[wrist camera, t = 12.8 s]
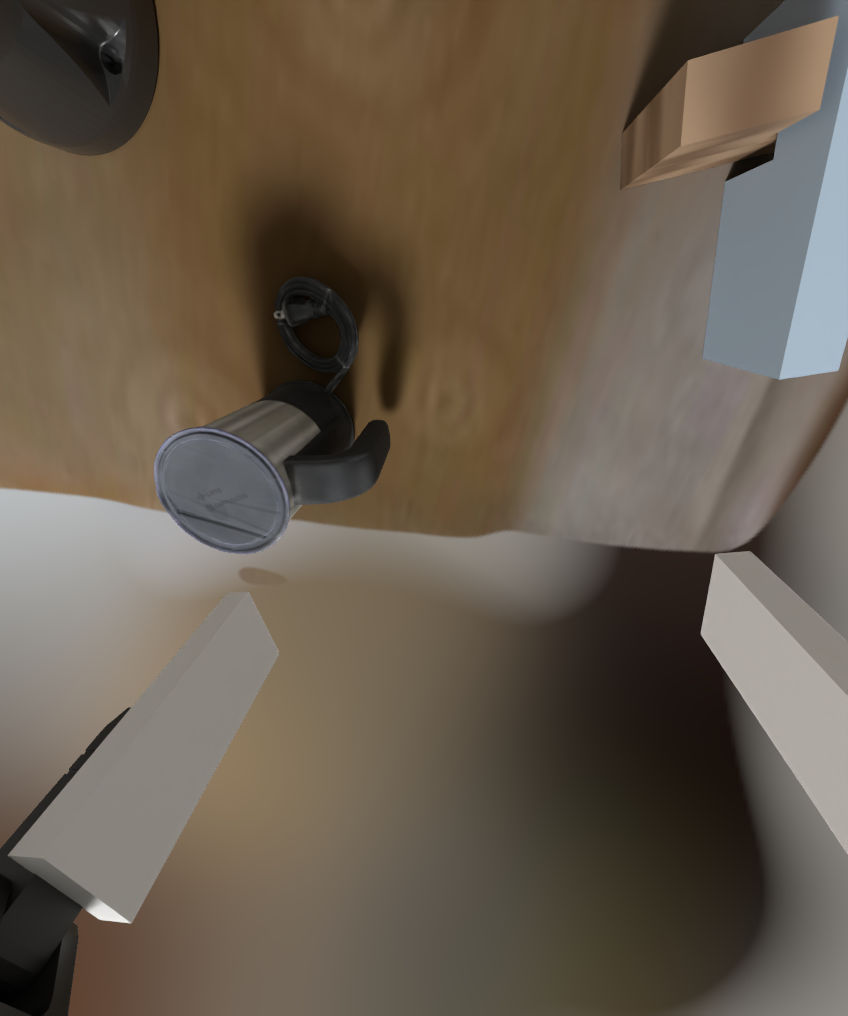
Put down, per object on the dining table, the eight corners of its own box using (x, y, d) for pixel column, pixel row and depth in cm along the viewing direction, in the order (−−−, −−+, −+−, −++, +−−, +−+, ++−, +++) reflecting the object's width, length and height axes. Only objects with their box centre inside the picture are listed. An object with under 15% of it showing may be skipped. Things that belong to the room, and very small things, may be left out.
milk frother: (292, 483, 41) (208, 569, 28) (202, 331, 35) (38, 352, 22) (415, 439, 37) (383, 515, 24) (339, 258, 31) (239, 231, 18)
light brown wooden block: (620, 190, 27) (680, 146, 19) (622, 133, 25) (688, 60, 18) (900, 120, 24) (1111, 33, 16) (919, 51, 22) (1160, -81, 15)
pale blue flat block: (743, 39, 23) (883, -95, 15) (802, 21, 22) (979, -127, 14) (702, 358, 31) (779, 379, 23) (744, 351, 30) (838, 370, 23)
